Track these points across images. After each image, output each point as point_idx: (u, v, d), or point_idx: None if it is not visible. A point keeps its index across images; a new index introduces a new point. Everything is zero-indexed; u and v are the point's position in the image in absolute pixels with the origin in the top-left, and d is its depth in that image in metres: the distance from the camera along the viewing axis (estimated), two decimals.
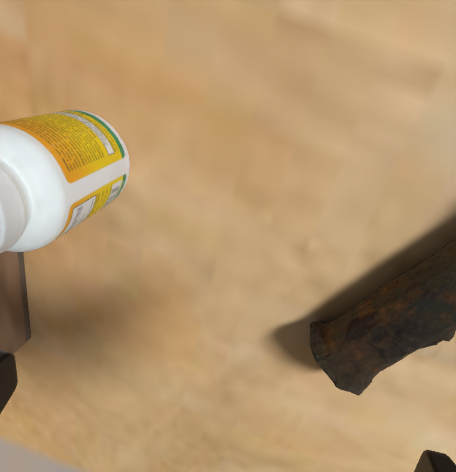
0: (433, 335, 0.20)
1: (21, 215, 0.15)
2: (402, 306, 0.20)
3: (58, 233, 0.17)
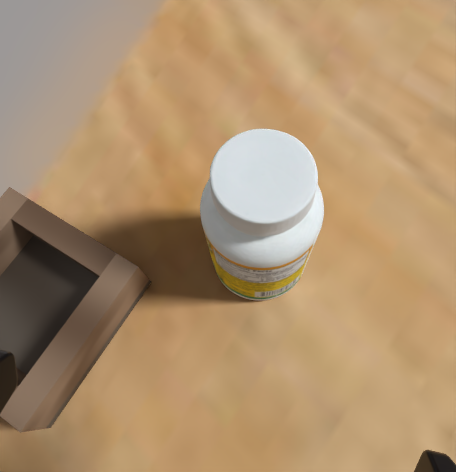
0: None
1: (309, 209, 0.16)
2: None
3: (291, 259, 0.17)
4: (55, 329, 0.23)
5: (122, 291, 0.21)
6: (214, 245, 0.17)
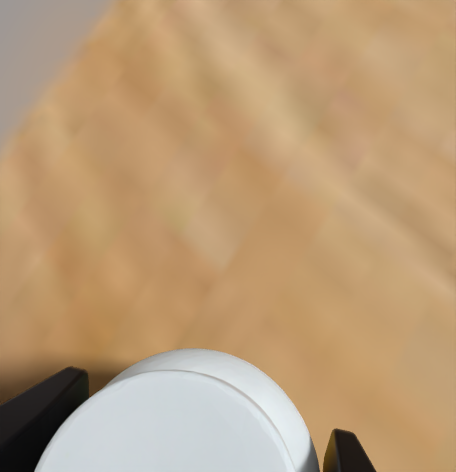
0: None
1: None
2: None
3: None
4: None
5: None
6: None
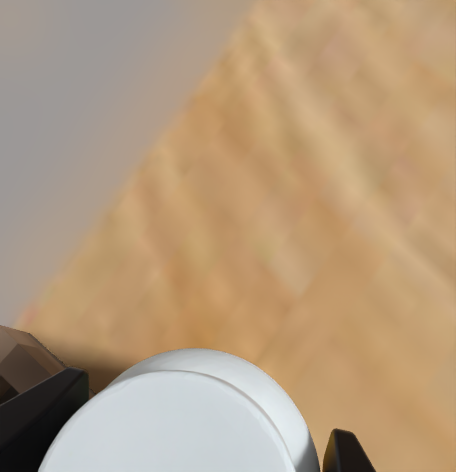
0: None
1: None
2: None
3: None
4: None
5: None
6: None
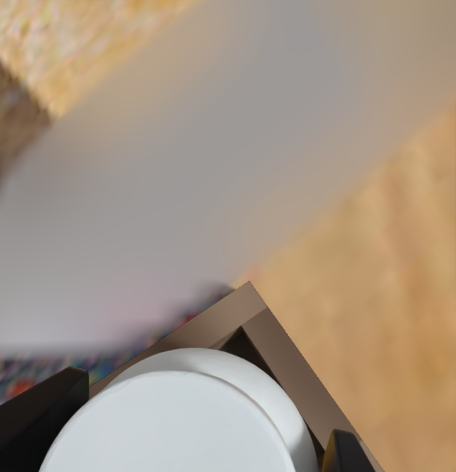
0: None
1: None
2: None
3: None
4: None
5: None
6: None
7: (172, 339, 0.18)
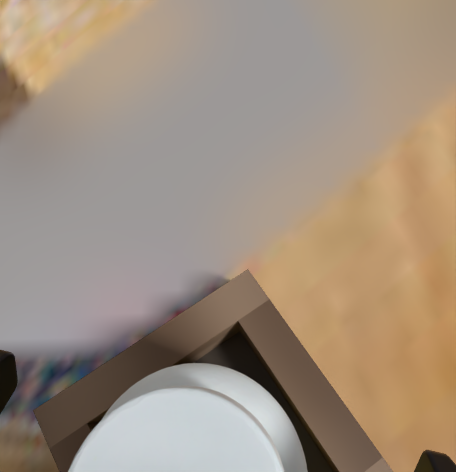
0: None
1: None
2: None
3: None
4: None
5: None
6: None
7: (157, 337, 0.15)
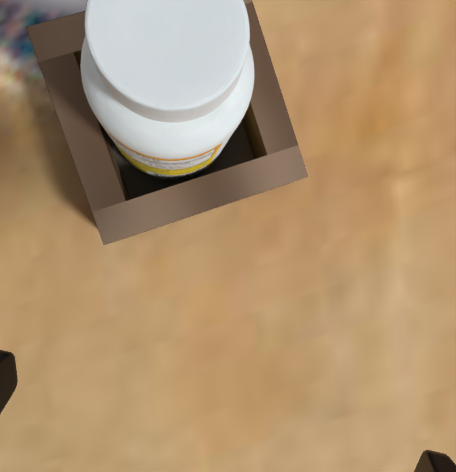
0: None
1: (221, 101, 0.11)
2: None
3: (185, 156, 0.13)
4: None
5: (275, 187, 0.18)
6: (90, 105, 0.13)
7: None
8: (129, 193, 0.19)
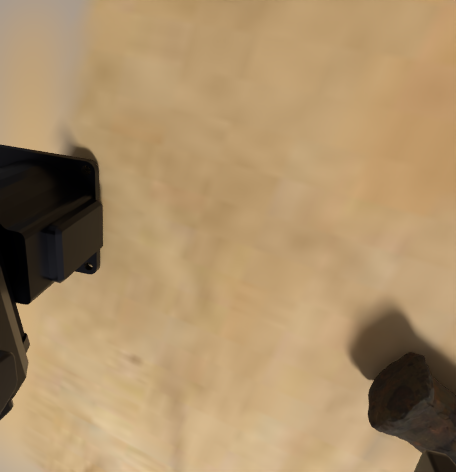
0: None
1: None
2: None
3: None
4: None
5: None
6: None
7: None
8: None
